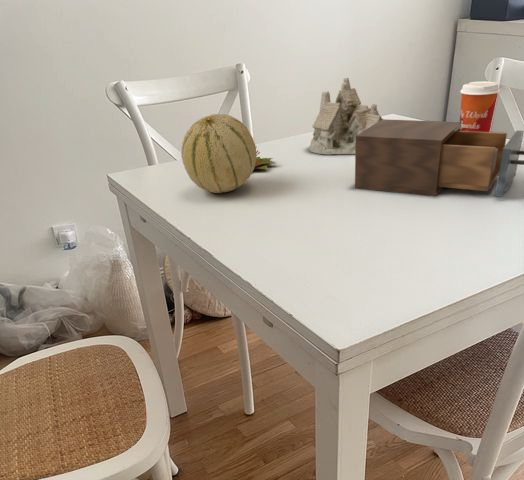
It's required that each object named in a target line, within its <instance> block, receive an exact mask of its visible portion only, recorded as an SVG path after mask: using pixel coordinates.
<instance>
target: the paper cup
mask: <svg viewBox="0 0 524 480" xmlns="http://www.w3.org/2000/svg"><path fill="white" fill-rule="evenodd" d="M459 92H460V94H461V97H460V110H459V111H460V112H459V122H461V131H479V132H491V128H492V123H493V120H494V119H493V118H494V114H495V109H496V104H497V99H498V95H499V93H500V92H501V89H500V86H499V83H498V82H496V81H482V80H481V81H471V82H470V81H469V82H468V83H465V84H463V85H462V88H461V90H459Z"/></svg>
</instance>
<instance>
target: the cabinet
mask: <svg viewBox="0 0 524 480" xmlns="http://www.w3.org/2000/svg"><path fill="white" fill-rule="evenodd" d="M456 131H461V122H460V121H442V120H441V121H438V120H414V119H413V120H412V119H411V120H409V119H387V118H386V119H383V118H382V120H380V121H379V122H377V123H375V124H374V125H372V126H371V127H369V128H368V129H366V130H364V131H363V132H361V133H360V134H358V135H357V136H356V152H355V154H354V155H355V158H354V159H355V161H354V189H360V190H369V191H370V190H372V191H379V192H380V191H381V192H390V193H401V194H411V195H421V196H431V197H432V196H433V197H436V196H437V195H438V194H439V193H440V192H441V191H442V190H443V189H444V187H438V181H439V171H440V162H441V152H442V144H443V143H444V142H445V141H446V140H447V139H449V138H450V137H451V136H452V135H453V134H454V133H455V132H456Z"/></svg>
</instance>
